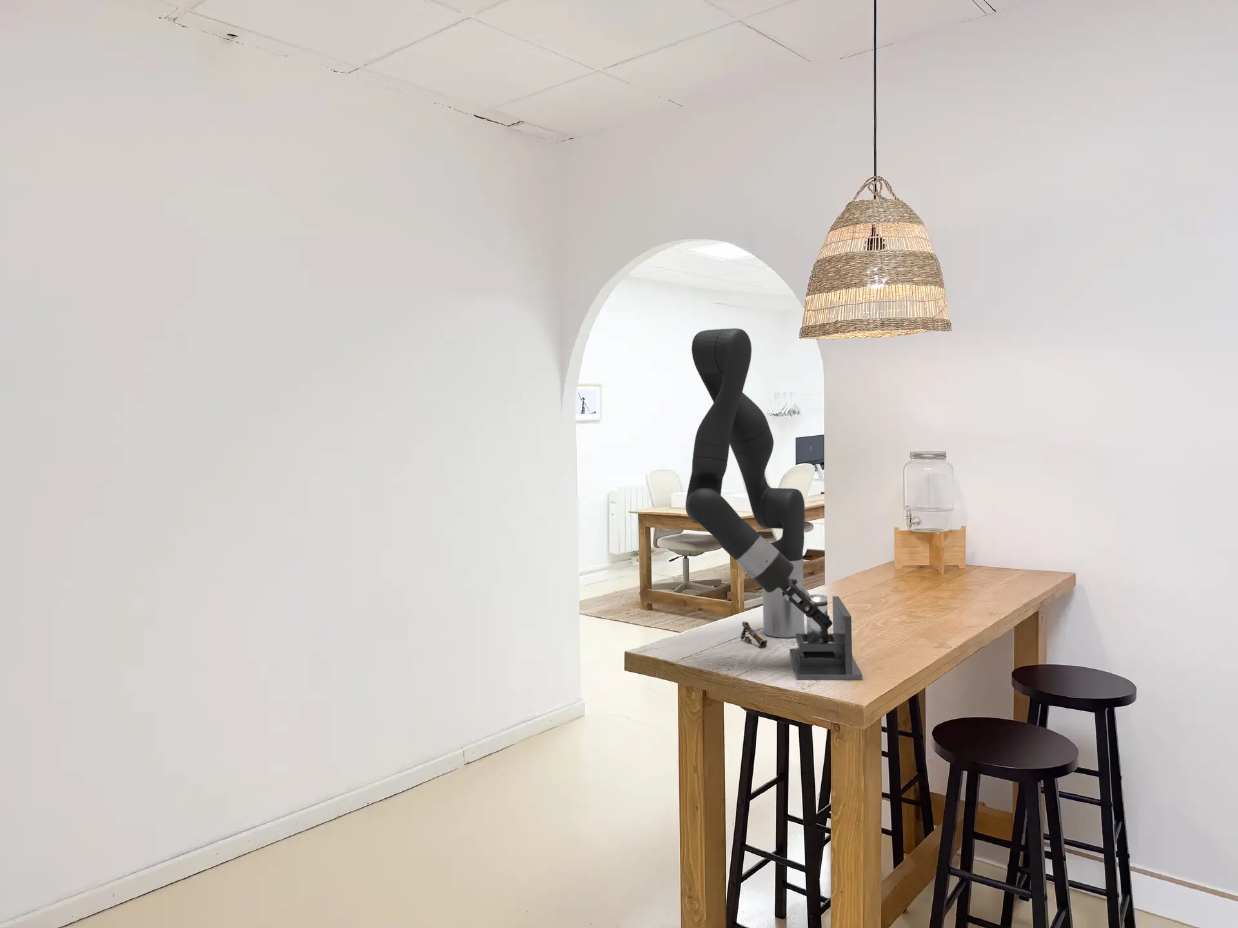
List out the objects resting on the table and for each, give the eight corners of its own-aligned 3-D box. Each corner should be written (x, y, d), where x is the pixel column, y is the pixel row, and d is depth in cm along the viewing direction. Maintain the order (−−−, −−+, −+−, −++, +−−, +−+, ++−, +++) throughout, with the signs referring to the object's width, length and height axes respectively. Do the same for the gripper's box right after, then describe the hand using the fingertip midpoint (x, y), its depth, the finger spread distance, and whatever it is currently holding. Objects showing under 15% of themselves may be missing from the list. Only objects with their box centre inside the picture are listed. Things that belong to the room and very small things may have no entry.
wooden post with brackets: (742, 635, 192) (746, 618, 191) (763, 656, 186) (768, 639, 184) (735, 636, 192) (740, 619, 190) (756, 657, 185) (761, 640, 184)
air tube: (806, 643, 172) (805, 594, 171) (827, 643, 171) (825, 594, 171) (808, 649, 167) (807, 598, 167) (829, 649, 167) (828, 598, 167)
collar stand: (789, 653, 179) (788, 596, 179) (848, 653, 178) (847, 596, 177) (797, 679, 161) (795, 616, 161) (862, 679, 160) (861, 616, 159)
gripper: (780, 555, 162) (846, 619, 161) (775, 544, 176) (836, 603, 175) (752, 583, 163) (818, 646, 162) (749, 570, 177) (810, 628, 176)
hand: (827, 623), depth 169 cm, fingers closed on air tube, 4 cm apart
